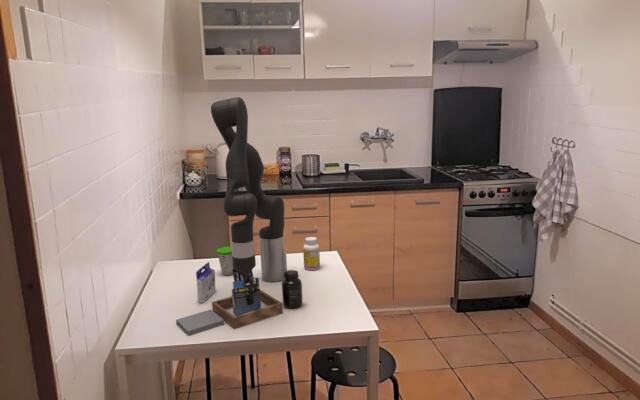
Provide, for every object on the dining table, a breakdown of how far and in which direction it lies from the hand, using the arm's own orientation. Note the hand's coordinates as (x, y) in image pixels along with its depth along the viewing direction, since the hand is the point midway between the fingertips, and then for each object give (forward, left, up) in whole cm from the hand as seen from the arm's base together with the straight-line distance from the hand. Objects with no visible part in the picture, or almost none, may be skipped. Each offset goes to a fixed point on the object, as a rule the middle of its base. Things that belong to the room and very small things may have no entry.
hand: (246, 301), depth 169 cm
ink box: (+5, -21, -4) cm, 22 cm away
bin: (0, 0, -4) cm, 4 cm away
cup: (-11, -37, -4) cm, 39 cm away
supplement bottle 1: (-15, +5, -4) cm, 16 cm away
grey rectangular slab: (+16, -2, -4) cm, 17 cm away
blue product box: (0, 0, -4) cm, 4 cm away
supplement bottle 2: (-41, -20, -4) cm, 46 cm away
